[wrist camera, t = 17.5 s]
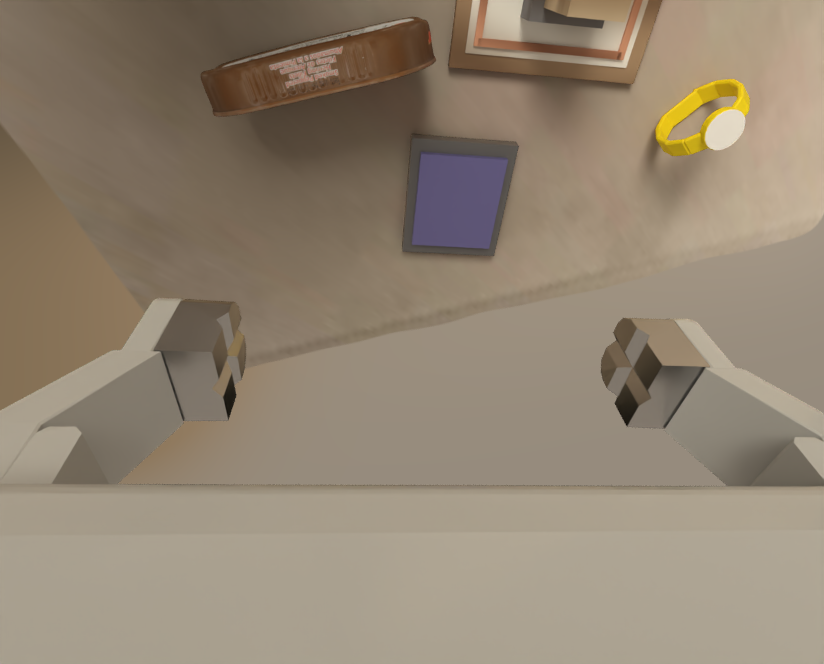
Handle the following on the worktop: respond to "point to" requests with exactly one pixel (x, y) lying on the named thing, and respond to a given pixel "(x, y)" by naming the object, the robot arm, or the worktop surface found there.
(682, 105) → the watch
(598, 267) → the worktop surface
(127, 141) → the worktop surface
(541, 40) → the board
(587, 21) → the stamp
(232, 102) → the tin
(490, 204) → the ink pad
